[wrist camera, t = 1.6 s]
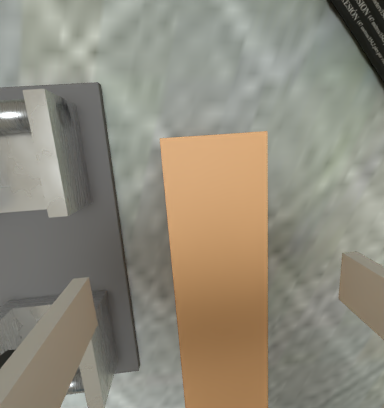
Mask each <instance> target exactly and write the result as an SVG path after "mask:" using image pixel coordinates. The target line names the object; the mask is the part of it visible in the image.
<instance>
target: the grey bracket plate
mask: <svg viewBox="0 0 384 408" xmlns="http://www.w3.org/2000/svg"><path fill="white" fill-rule="evenodd" d="M23 95H24V99H15V100H0V213H6V212H19V211H31V210H44V209H47V212H48V217H49V218H51V217H63V216H69V215H71V214H73V213H75V212H76V211H78V210H80V209H82V208H84V207H85V206H87V205H89V204H91V203H92V196H91V190H90V184H89V178H88V172H87V165H86V159H85V153H84V147H83V141H82V135H81V128H80V122H79V116H78V110H77V105H75V104H73V103H71V102H69V101H67V100H65V99H63V98H61V97H60V96H58V95H56V94H54V93H52V92H50V91H48V90H46V89H30V90H23ZM59 296H60V295H51V296H41V297H31V298H21V299H11V300H8V301H7V302H6V303H5V304H4V305H3V306H1V307H0V355H2V354H3V353H4V352H5V351H7V350H15V349H17V347H18V346H19V345H20V344H21V343H22V341H23V340H24V339H25V338H26V336H27V335H28V334H29V333H30V331H31V330H32V329H33V328H34V326H35V325H36V324H37V323H38V322H39V320H40V319H41V318H42V317H43V315H44V314H45V313H46V312H47V310H48V309H49V308H50V307H51V305H52V304H53V303H54V302H55V300H56V299H57V298H58V297H59ZM92 296H93V302H94V307H95V312H96V318H97V323H98V325H97V327H96V329H95V331H94V334H93V336H92V338H91V340H90V343H89V345H88V347H87V349H86V351H85V354H84V356H83V358H82V360H81V362H80V365H79V367H78V369H77V371H76V373H75V376H74V378H73V380H72V382H71V384H70V387H69V389H68V391H67V393H66V395H67V394H76V393H84V392H85V396H86V401H87V406H88V408H105V405H106V401H107V398H108V394H109V391H110V387H111V383H112V380H113V376H114V373H115V369H116V366H117V362H118V356H117V350H116V344H115V338H114V331H113V325H112V319H111V313H110V307H109V301H108V295H107V290H101V291H92Z"/></svg>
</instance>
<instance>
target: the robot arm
mask: <svg viewBox="0 0 384 408" xmlns="http://www.w3.org/2000/svg"><path fill="white" fill-rule="evenodd" d="M339 300H340V301H341V302H342V303H344V304H345V305H346V306H347V307H348V308H349V309H350V310H351V311H352V312H353V313H355V314H356V315H357V316H358V317H359V318H360V319H361V320H362V321H363V322H364V323H366V324H367V325H368V326H369V327H370V328H371V329H372V330H373V331H374V332H375V333H377V334H378V335H379V336H380V337H381V338H382V339H383V340H384V267H383V266H381V265H380V264H378V263H376V262H374V261H372V260H371V259H369V258H367V257H365V256H363V255H362V254H360V253H358V252H347V253H342V264H341V276H340V288H339ZM97 325H98V323H97V318H96V312H95V307H94V302H93V296H92V291H91V286H90V281H89V277H85V278H74V279H72V281H71V282H70V283H69V284H68V286H67V287H66V288H65V289H64V291H63V292H62V293H61V294H60V296H59V297H58V298H57V299H56V300H55V302H54V303H53V304H52V305H51V307H50V308H49V309H48V310H47V312H46V313H45V314H44V315H43V317H42V318H41V319H40V320H39V322H38V323H37V324H36V325H35V326H34V328H33V329H32V330H31V331H30V333H29V334H28V335H27V336H26V338H25V339H24V340H23V341H22V343H21V344H20V345H19V346H18V347H17V349H15V350H7V351H5V352H4V353H3V354H2V355H0V408H60V407H61V404H62V402H63V400H64V398H65V396H66V393H67V391H68V389H69V387H70V384H71V382H72V380H73V378H74V376H75V373H76V371H77V369H78V367H79V365H80V362H81V360H82V358H83V356H84V354H85V351H86V349H87V347H88V345H89V343H90V340H91V338H92V336H93V334H94V331H95V329H96V327H97Z"/></svg>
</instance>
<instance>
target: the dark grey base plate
mask: <svg viewBox="0 0 384 408" xmlns="http://www.w3.org/2000/svg"><path fill="white" fill-rule="evenodd" d="M30 89H46V90H48V91H50V92H52V93H54V94H56V95H58V96H60V97H61V98H63V99H65V100H67V101H69V102H71V103H73V104H75V105H77V110H78V116H79V122H80V128H81V135H82V141H83V147H84V153H85V159H86V165H87V172H88V178H89V184H90V190H91V196H92V203H91V204H89V205H87V206H85V207H84V208H82V209H80V210H78V211H76V212H75V213H73V214H71V215H69V216H63V217H51V218H49V217H48V212H47V209H44V210H31V211H19V212H6V213H0V307H1V306H3V305H4V304H5V303H6V302H7V301H8V300H11V299H21V298H31V297H41V296H51V295H60V294H61V293H62V292H63V291H64V289H65V288H66V287H67V286H68V284H69V283H70V282H71V281H72V279H74V278H85V277H89V281H90V286H91V291H101V290H107V295H108V301H109V307H110V313H111V319H112V325H113V331H114V338H115V344H116V350H117V356H118V362H117V366H116V369H115V373H123V372H132V371H139V367H140V363H139V356H138V349H137V342H136V335H135V328H134V320H133V313H132V306H131V299H130V292H129V285H128V278H127V270H126V263H125V256H124V249H123V242H122V235H121V228H120V220H119V213H118V206H117V199H116V192H115V185H114V178H113V170H112V163H111V156H110V149H109V142H108V135H107V128H106V120H105V113H104V106H103V99H102V92H101V85H100V84H99V83H98V82H96V83H77V84H58V85H39V86H21V87H2V88H0V100H15V99H24V95H23V90H30ZM115 373H114V374H115Z"/></svg>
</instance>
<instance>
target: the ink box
mask: <svg viewBox="0 0 384 408" xmlns="http://www.w3.org/2000/svg"><path fill="white" fill-rule="evenodd" d="M331 1H332V3H333V4H334V6H335V7H336V9H337V10H338V12H339V13H340V15H341V16H342V17H343V19H344V21H345V23H346V24H347V26H348V27H349V29H350V30H351V32H352V33H353V35H354V36H355V38H356V39H357V40H358V42H359V44H360V46H361V47H362V48H363V50H364V52H365V53H366V55H367V56H368V58H369V59H370V61H371V63H372V64H373V66H374V67H375V68H376V70H377V72H378V74H379V75H380V77H381V78H382V80H383V81H384V0H331Z"/></svg>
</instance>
